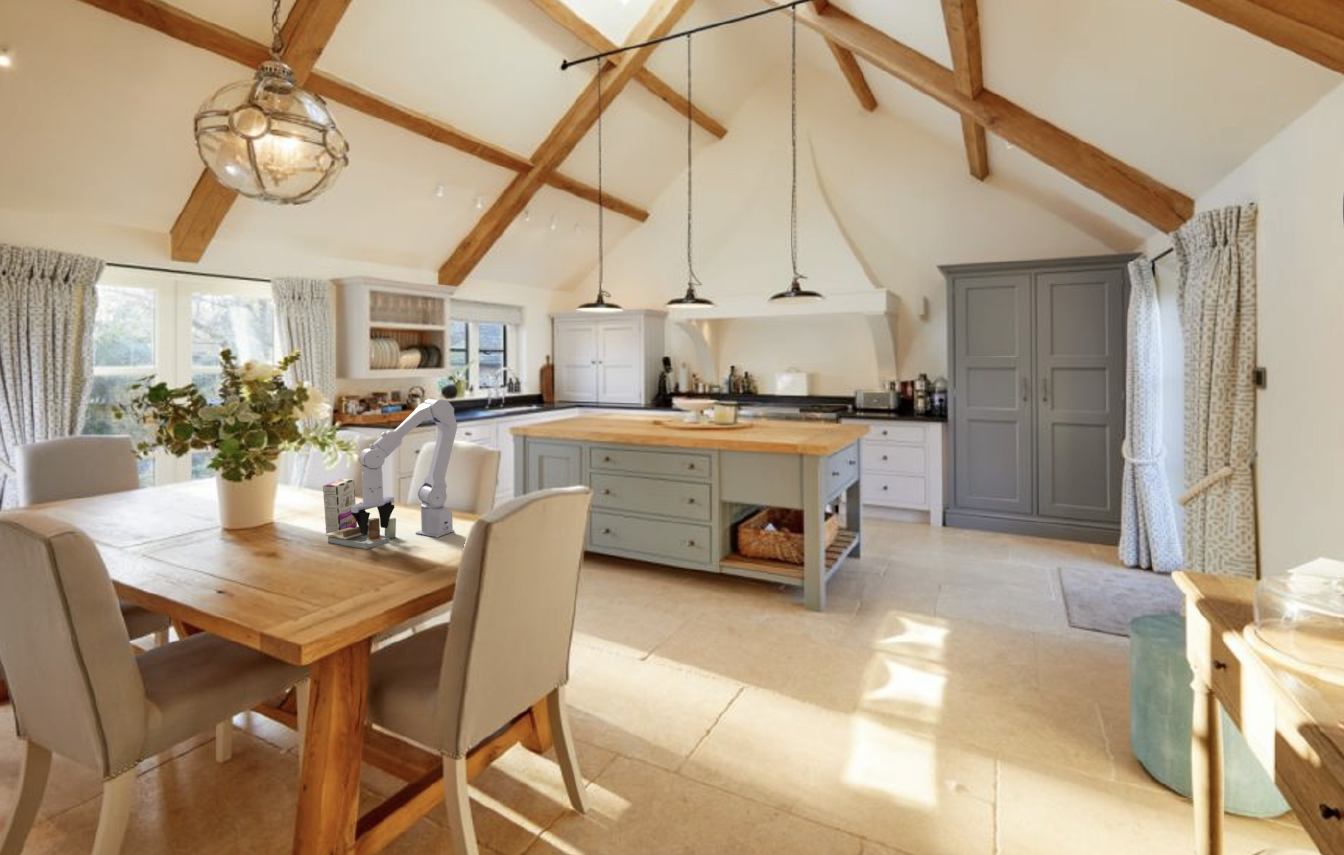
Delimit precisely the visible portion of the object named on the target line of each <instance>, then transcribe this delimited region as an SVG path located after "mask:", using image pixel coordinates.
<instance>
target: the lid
mask: <svg viewBox="0 0 1344 855" xmlns="http://www.w3.org/2000/svg"><path fill="white" fill-rule="evenodd" d="M358 535H362V534H361V532H360V528H359V526H355V527H354V528H351V527H349V528H345V529H342V530H338V531H335V532H331V533H328V534H325V537H336V538H342V539H348V538H351V537H355V536H358Z"/></svg>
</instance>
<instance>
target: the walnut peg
mask: <svg viewBox="0 0 1344 855" xmlns="http://www.w3.org/2000/svg"><path fill="white" fill-rule="evenodd" d="M380 528H381V525H380V517H369V520H368V533H369V539H371V540H373V539H379V538H380V535H381V529H380Z"/></svg>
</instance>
